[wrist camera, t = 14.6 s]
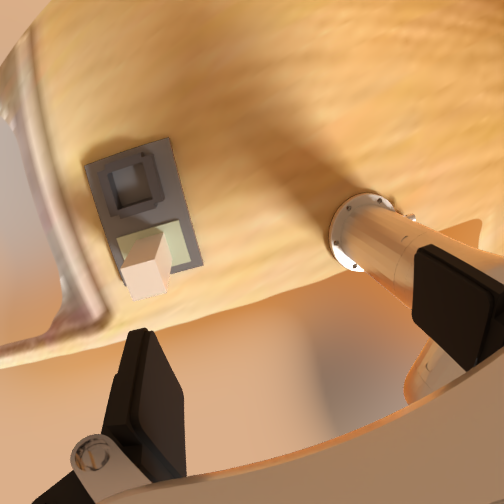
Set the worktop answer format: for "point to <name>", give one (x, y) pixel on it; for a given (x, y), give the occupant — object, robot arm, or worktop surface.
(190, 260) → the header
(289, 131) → the worktop surface
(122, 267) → the plug
